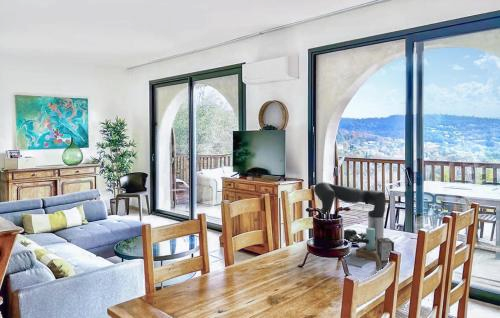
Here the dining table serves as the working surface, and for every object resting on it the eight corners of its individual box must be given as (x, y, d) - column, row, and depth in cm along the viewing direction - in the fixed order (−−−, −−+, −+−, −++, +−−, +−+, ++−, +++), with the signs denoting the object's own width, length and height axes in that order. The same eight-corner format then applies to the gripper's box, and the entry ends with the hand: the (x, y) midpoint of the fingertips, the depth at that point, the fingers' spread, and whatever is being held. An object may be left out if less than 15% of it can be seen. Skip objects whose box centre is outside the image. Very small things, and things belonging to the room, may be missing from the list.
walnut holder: (364, 250, 234) (364, 243, 234) (390, 256, 223) (390, 249, 223) (350, 256, 223) (350, 249, 223) (376, 263, 212) (377, 255, 212)
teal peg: (368, 253, 226) (368, 227, 225) (376, 255, 223) (376, 228, 222) (364, 255, 223) (364, 229, 222) (372, 257, 220) (372, 230, 219)
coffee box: (394, 275, 194) (394, 242, 193) (380, 275, 194) (381, 242, 193) (387, 268, 203) (388, 237, 202) (375, 268, 203) (375, 237, 202)
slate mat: (352, 258, 220) (352, 257, 220) (371, 262, 213) (371, 261, 212) (342, 262, 212) (342, 261, 212) (361, 267, 205) (361, 266, 205)
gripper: (353, 239, 238) (378, 244, 227) (340, 244, 228) (366, 249, 217) (353, 226, 238) (378, 231, 226) (340, 231, 228) (366, 236, 216)
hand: (372, 240), depth 222 cm, fingers open, 8 cm apart
